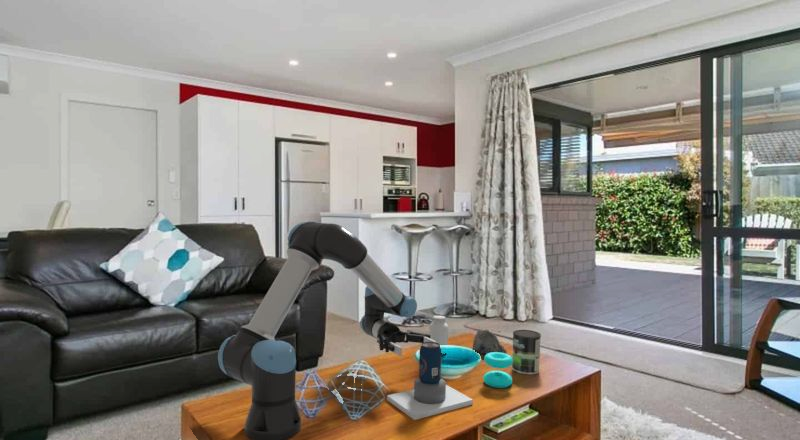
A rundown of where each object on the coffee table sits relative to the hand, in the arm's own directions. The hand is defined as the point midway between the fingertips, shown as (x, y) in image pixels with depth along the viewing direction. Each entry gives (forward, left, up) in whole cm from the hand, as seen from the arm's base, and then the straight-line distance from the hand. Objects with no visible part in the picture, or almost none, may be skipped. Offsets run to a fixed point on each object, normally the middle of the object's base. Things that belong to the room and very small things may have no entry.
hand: (418, 348), depth 159 cm
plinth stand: (0, -7, -15) cm, 17 cm away
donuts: (+30, -6, -15) cm, 34 cm away
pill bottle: (+32, +32, -15) cm, 47 cm away
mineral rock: (+49, +20, -15) cm, 55 cm away
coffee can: (+49, -1, -15) cm, 51 cm away
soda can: (0, -7, -9) cm, 11 cm away
